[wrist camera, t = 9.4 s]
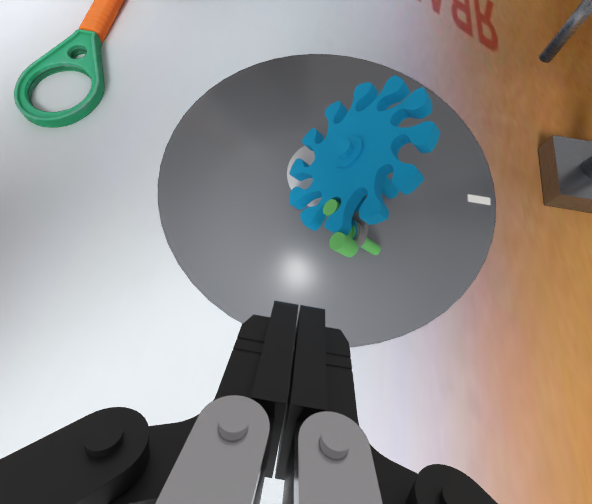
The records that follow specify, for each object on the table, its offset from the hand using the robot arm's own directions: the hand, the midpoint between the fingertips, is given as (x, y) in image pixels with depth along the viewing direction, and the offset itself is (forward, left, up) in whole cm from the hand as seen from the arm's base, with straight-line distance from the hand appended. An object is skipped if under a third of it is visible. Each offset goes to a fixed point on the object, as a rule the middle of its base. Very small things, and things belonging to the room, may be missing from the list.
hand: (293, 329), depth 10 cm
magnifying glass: (-21, +20, -11) cm, 31 cm away
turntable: (+1, +13, -11) cm, 17 cm away
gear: (+2, +11, -10) cm, 15 cm away
